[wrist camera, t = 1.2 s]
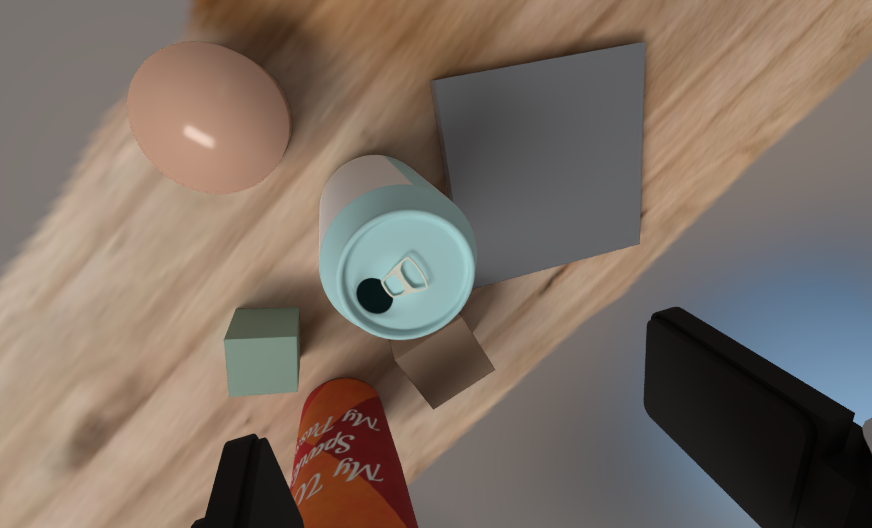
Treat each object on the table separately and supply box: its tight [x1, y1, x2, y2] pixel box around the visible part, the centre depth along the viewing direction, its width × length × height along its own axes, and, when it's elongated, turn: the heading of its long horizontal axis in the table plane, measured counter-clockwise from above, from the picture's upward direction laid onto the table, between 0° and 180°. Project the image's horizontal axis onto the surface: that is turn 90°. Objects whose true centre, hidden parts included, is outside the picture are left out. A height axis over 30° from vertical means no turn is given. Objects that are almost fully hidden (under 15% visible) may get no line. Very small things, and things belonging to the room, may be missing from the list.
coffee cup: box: [290, 378, 418, 528], centre depth 27 cm, size 8×8×15 cm
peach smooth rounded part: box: [127, 41, 292, 194], centre depth 23 cm, size 7×7×4 cm
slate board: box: [430, 42, 645, 289], centre depth 30 cm, size 14×14×1 cm
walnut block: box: [389, 313, 495, 410], centre depth 30 cm, size 5×5×5 cm
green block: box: [224, 308, 300, 397], centre depth 28 cm, size 4×4×4 cm
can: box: [319, 155, 477, 340], centre depth 23 cm, size 7×7×12 cm
